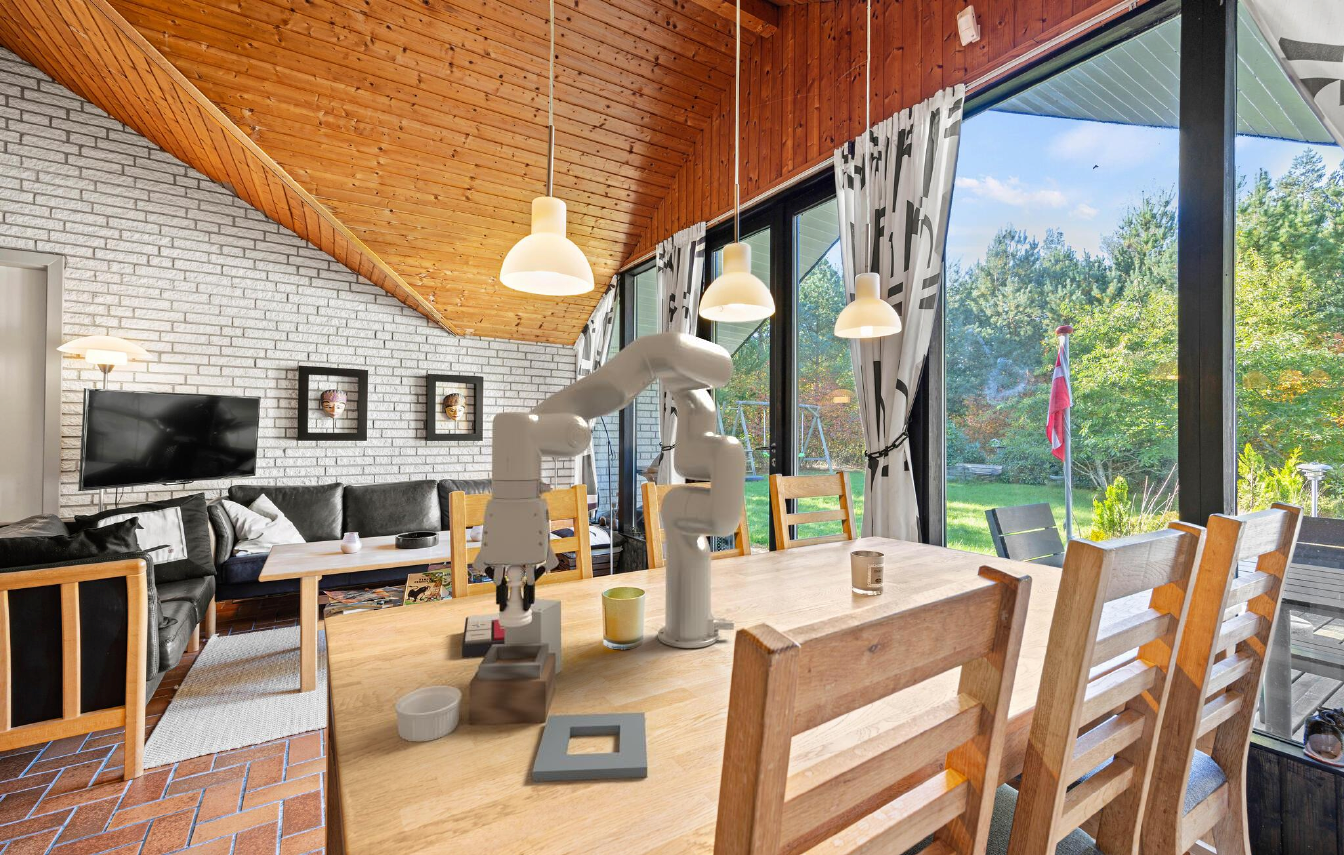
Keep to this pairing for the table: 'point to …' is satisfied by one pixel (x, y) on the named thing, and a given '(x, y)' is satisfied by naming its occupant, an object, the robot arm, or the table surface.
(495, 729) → the table surface
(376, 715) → the table surface
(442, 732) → the ramekin
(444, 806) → the table surface
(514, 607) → the chess pawn
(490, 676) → the riser socket
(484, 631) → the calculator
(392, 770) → the table surface
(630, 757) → the board
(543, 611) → the supplement box
